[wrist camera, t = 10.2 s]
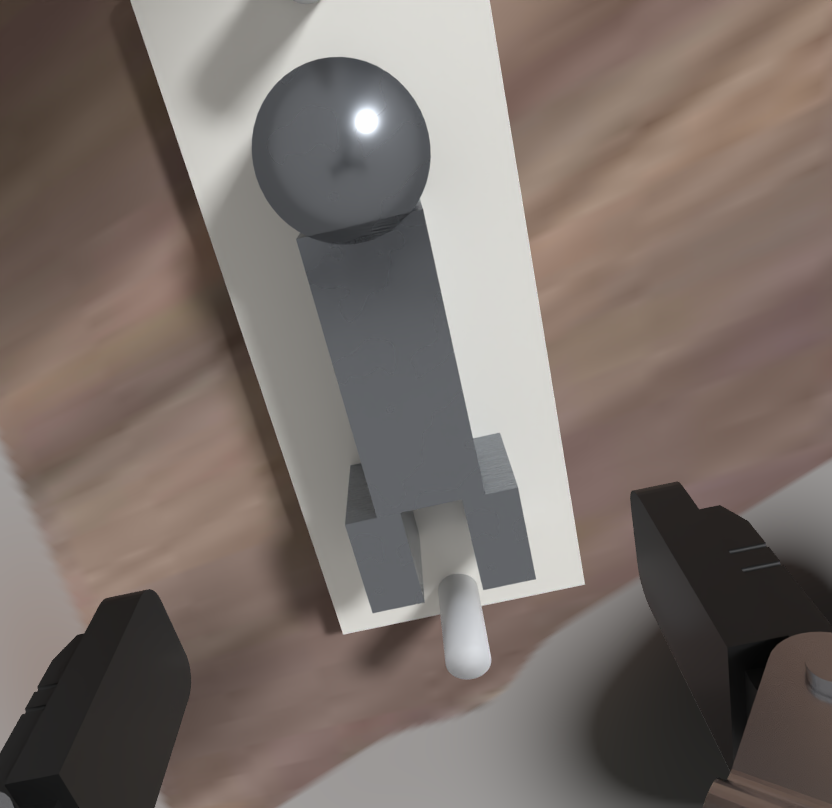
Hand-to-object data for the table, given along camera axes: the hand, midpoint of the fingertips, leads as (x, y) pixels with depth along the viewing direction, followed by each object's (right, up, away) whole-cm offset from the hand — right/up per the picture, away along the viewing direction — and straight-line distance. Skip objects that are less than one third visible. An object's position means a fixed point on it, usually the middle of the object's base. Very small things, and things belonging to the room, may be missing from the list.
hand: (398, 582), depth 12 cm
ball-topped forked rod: (0, +5, +13) cm, 14 cm away
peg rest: (-1, +6, +14) cm, 15 cm away
